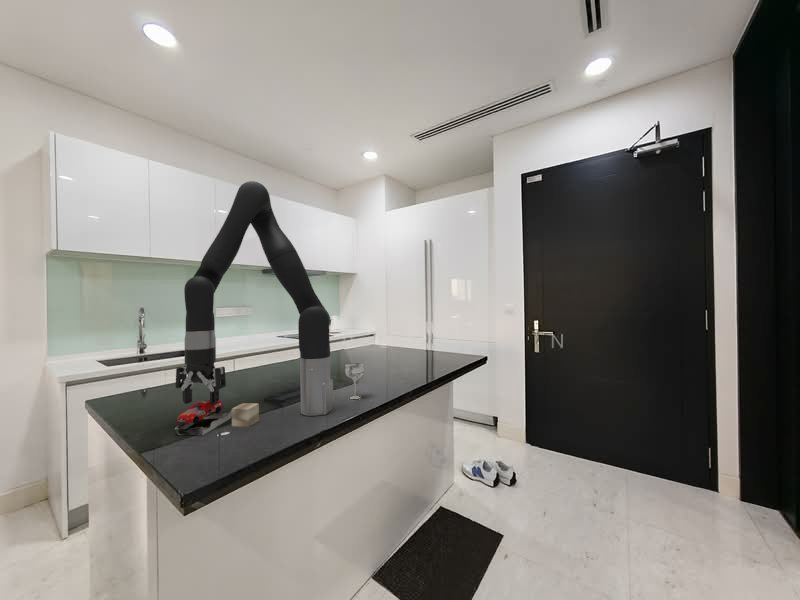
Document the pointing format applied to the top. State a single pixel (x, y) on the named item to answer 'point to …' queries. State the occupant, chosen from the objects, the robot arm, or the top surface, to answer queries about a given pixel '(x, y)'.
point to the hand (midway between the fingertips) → (200, 403)
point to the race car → (199, 412)
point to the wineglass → (354, 374)
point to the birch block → (245, 414)
